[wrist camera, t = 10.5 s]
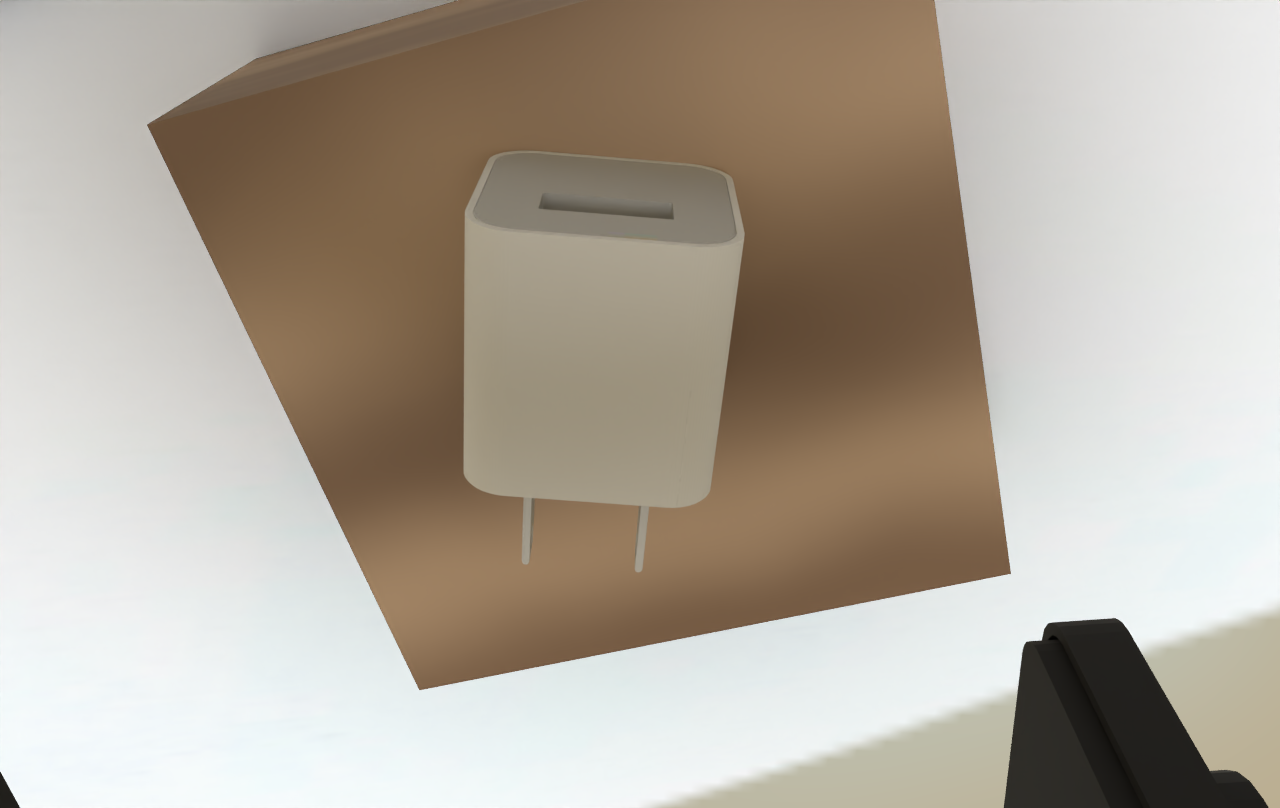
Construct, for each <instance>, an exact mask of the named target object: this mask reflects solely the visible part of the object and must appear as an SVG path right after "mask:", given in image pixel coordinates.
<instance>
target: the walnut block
mask: <svg viewBox="0 0 1280 808" xmlns="http://www.w3.org/2000/svg"><path fill="white" fill-rule="evenodd" d="M147 126H148V128H149V130H150V132H151V134H152V136H153V138H154V140H155V142H156V144H157V146H158V148H159V150H160V152H161V155H162V157H163V159H164V161H165V163H166V165H167V167H168V169H169V171H170V173H171V175H172V177H173V179H174V182H175V184H176V186H177V188H178V190H179V192H180V194H181V196H182V198H183V200H184V202H185V204H186V206H187V209H188V211H189V213H190V215H191V217H192V219H193V221H194V223H195V225H196V227H197V229H198V231H199V233H200V236H201V238H202V240H203V242H204V244H205V246H206V248H207V250H208V252H209V254H210V256H211V258H212V260H213V263H214V265H215V267H216V269H217V271H218V273H219V275H220V277H221V279H222V281H223V283H224V285H225V287H226V289H227V292H228V294H229V296H230V298H231V300H232V302H233V304H234V306H235V308H236V310H237V312H238V314H239V316H240V319H241V321H242V323H243V325H244V327H245V329H246V331H247V333H248V335H249V337H250V339H251V341H252V343H253V346H254V348H255V350H256V352H257V354H258V356H259V358H260V360H261V362H262V364H263V366H264V368H265V370H266V373H267V375H268V377H269V379H270V381H271V383H272V385H273V387H274V389H275V391H276V393H277V395H278V397H279V400H280V402H281V404H282V406H283V408H284V410H285V412H286V414H287V416H288V418H289V420H290V422H291V424H292V426H293V429H294V431H295V433H296V435H297V437H298V439H299V441H300V443H301V445H302V447H303V449H304V451H305V453H306V456H307V458H308V460H309V462H310V464H311V466H312V468H313V470H314V472H315V474H316V476H317V478H318V480H319V483H320V485H321V487H322V489H323V491H324V493H325V495H326V497H327V499H328V501H329V503H330V505H331V507H332V510H333V512H334V514H335V516H336V518H337V520H338V522H339V524H340V526H341V528H342V530H343V532H344V534H345V537H346V539H347V541H348V543H349V545H350V547H351V549H352V551H353V553H354V555H355V557H356V559H357V561H358V563H359V566H360V568H361V570H362V572H363V574H364V576H365V578H366V580H367V582H368V584H369V586H370V588H371V590H372V593H373V595H374V597H375V599H376V601H377V603H378V605H379V607H380V609H381V611H382V613H383V615H384V617H385V620H386V622H387V624H388V626H389V628H390V630H391V632H392V634H393V636H394V638H395V640H396V642H397V644H398V647H399V649H400V651H401V653H402V655H403V657H404V659H405V661H406V663H407V665H408V667H409V669H410V671H411V674H412V676H413V678H414V680H415V682H416V684H417V686H418V688H419V690H423V689H428V688H433V687H438V686H443V685H448V684H453V683H458V682H463V681H468V680H473V679H479V678H484V677H489V676H494V675H499V674H504V673H509V672H514V671H519V670H524V669H529V668H534V667H539V666H545V665H550V664H555V663H560V662H565V661H570V660H575V659H580V658H585V657H590V656H595V655H600V654H605V653H611V652H616V651H621V650H626V649H631V648H636V647H641V646H646V645H651V644H656V643H661V642H666V641H671V640H677V639H682V638H687V637H692V636H697V635H702V634H707V633H712V632H717V631H722V630H727V629H732V628H737V627H742V626H748V625H753V624H758V623H763V622H768V621H773V620H778V619H783V618H788V617H793V616H798V615H803V614H808V613H814V612H819V611H824V610H829V609H834V608H839V607H844V606H849V605H854V604H859V603H864V602H869V601H874V600H880V599H885V598H890V597H895V596H900V595H905V594H910V593H915V592H920V591H925V590H930V589H935V588H940V587H946V586H951V585H956V584H961V583H966V582H971V581H976V580H981V579H986V578H991V577H996V576H1001V575H1006V574H1011V572H1010V564H1009V557H1008V549H1007V542H1006V534H1005V527H1004V519H1003V512H1002V504H1001V497H1000V489H999V482H998V474H997V467H996V459H995V452H994V444H993V437H992V429H991V422H990V414H989V407H988V399H987V392H986V385H985V377H984V370H983V362H982V355H981V347H980V340H979V332H978V325H977V317H976V310H975V302H974V295H973V287H972V280H971V272H970V265H969V257H968V250H967V242H966V235H965V227H964V220H963V212H962V205H961V197H960V190H959V182H958V175H957V167H956V160H955V152H954V145H953V137H952V130H951V122H950V115H949V107H948V100H947V92H946V85H945V77H944V70H943V62H942V55H941V47H940V40H939V32H938V25H937V17H936V10H935V2H934V0H458V1H455V2H451V3H448V4H444V5H441V6H437V7H434V8H430V9H427V10H424V11H420V12H417V13H413V14H410V15H406V16H403V17H399V18H396V19H392V20H389V21H385V22H382V23H378V24H375V25H372V26H368V27H365V28H361V29H358V30H354V31H351V32H347V33H344V34H340V35H337V36H333V37H330V38H326V39H323V40H319V41H316V42H313V43H309V44H306V45H302V46H299V47H295V48H292V49H288V50H285V51H281V52H278V53H274V54H271V55H267V56H264V57H261V58H257V59H255V60H253V61H251V62H250V63H248V64H247V65H245V66H243V67H242V68H240V69H238V70H237V71H235V72H233V73H232V74H230V75H228V76H227V77H225V78H223V79H222V80H220V81H218V82H217V83H215V84H214V85H212V86H210V87H209V88H207V89H205V90H204V91H202V92H200V93H199V94H197V95H195V96H194V97H192V98H190V99H189V100H187V101H186V102H184V103H182V104H181V105H179V106H177V107H176V108H174V109H172V110H171V111H169V112H167V113H166V114H164V115H162V116H161V117H159V118H157V119H156V120H154V121H153V122H151V123H149V124H148V125H147ZM523 150H529V151H544V152H557V153H569V154H581V155H593V156H605V157H617V158H629V159H641V160H653V161H665V162H677V163H689V164H696V165H702V166H707V167H711V168H714V169H717V170H720V171H722V172H725V173H726V174H728V175H729V176H731V177H732V179H733V182H734V187H735V191H736V196H737V201H738V205H739V210H740V214H741V219H742V223H743V228H744V232H745V236H744V243H743V251H742V258H741V266H740V273H739V280H738V288H737V295H736V303H735V310H734V317H733V325H732V332H731V340H730V347H729V355H728V362H727V369H726V377H725V384H724V392H723V399H722V406H721V414H720V421H719V429H718V436H717V444H716V451H715V458H714V466H713V473H712V481H711V488H710V492H709V494H708V495H707V496H706V497H705V498H704V499H703V500H701V501H700V502H698V503H696V504H693V505H690V506H686V507H679V508H663V507H649V512H648V522H647V532H646V541H645V550H644V559H643V568H642V571H641V572H636V571H635V543H636V532H637V522H638V511H639V506H635V505H622V504H608V503H594V502H581V501H567V500H553V499H539V498H535V505H534V526H533V542H532V548H531V555H530V561H529V563H528V564H523V563H522V530H523V502H524V497H512V496H500V495H494V494H490V493H487V492H484V491H482V490H479V489H477V488H476V487H474V486H473V485H471V484H470V483H469V482H468V481H467V479H466V478H465V476H464V269H465V209H466V207H467V205H468V203H469V201H470V199H471V196H472V194H473V192H474V190H475V188H476V186H477V183H478V181H479V179H480V177H481V175H482V173H483V170H484V168H485V166H486V164H487V162H488V160H489V158H490V157H492V156H494V155H496V154H499V153H503V152H509V151H523Z"/></svg>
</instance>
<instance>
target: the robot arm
mask: <svg viewBox="0 0 1280 808" xmlns="http://www.w3.org/2000/svg"><path fill="white" fill-rule="evenodd" d="M0 808H20V807H19V805H18V803H17V801H16V800H15V798H14V796H13V794H12V792H11V790H10V789H9V787H8V785H7V783H6V781H5V779H4V778H3V776H2V774H1V772H0ZM1004 808H1268V806H1267V805H1266V803H1265V801H1264V799H1263V798H1262V797H1261V795H1260V794H1259V793H1258V791H1257V790H1256V789H1255V787H1254V786H1253V785H1252V783H1251V782H1250V781H1249V780H1247V779H1246V778H1245V777H1244V776H1242V775H1241V774H1240V773H1238V772H1236V771H1229V770H1218V771H1209V769H1208V767H1207V766H1206V764H1205V762H1204V760H1203V759H1202V757H1201V755H1200V753H1199V752H1198V750H1197V748H1196V747H1195V745H1194V743H1193V741H1192V740H1191V738H1190V736H1189V734H1188V733H1187V731H1186V729H1185V728H1184V726H1183V724H1182V722H1181V721H1180V719H1179V717H1178V716H1177V714H1176V712H1175V710H1174V709H1173V707H1172V705H1171V704H1170V702H1169V700H1168V698H1167V697H1166V695H1165V693H1164V691H1163V690H1162V688H1161V686H1160V685H1159V683H1158V681H1157V679H1156V678H1155V676H1154V674H1153V672H1152V671H1151V669H1150V667H1149V666H1148V664H1147V662H1146V660H1145V659H1144V657H1143V655H1142V653H1141V652H1140V650H1139V648H1138V647H1137V645H1136V643H1135V641H1134V640H1133V638H1132V636H1131V635H1130V633H1129V631H1128V630H1127V628H1126V627H1125V626H1124V624H1123V623H1122V622H1121V621H1119V620H1118V619H1116V618H1112V619H1098V620H1083V621H1069V622H1055V623H1048V624H1047V626H1046V628H1045V629H1044V633H1043V638H1042V641H1029V642H1026V644H1025V645H1024V648H1023V653H1022V661H1021V669H1020V677H1019V686H1018V694H1017V702H1016V711H1015V719H1014V727H1013V737H1012V744H1011V752H1010V761H1009V770H1008V777H1007V786H1006V795H1005V803H1004Z"/></svg>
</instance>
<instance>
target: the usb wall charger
mask: <svg viewBox="0 0 1280 808" xmlns="http://www.w3.org/2000/svg"><path fill="white" fill-rule="evenodd" d="M744 236H745V232H744V228H743V223H742V219H741V214H740V210H739V205H738V201H737V196H736V191H735V187H734V182H733V179H732V177H731V176H729V175H728V174H726V173H725V172H722V171H720V170H717V169H714V168H711V167H707V166H702V165H696V164H689V163H677V162H665V161H653V160H641V159H629V158H617V157H605V156H593V155H581V154H569V153H557V152H544V151H529V150H523V151H509V152H503V153H499V154H496V155H494V156H492V157H490V158H489V160H488V162H487V164H486V166H485V168H484V170H483V173H482V175H481V177H480V179H479V181H478V183H477V186H476V188H475V190H474V192H473V194H472V196H471V199H470V201H469V203H468V205H467V207H466V209H465V269H464V476H465V478H466V479H467V481H468V482H469V483H470V484H471V485H473V486H474V487H476V488H477V489H479V490H482V491H484V492H487V493H490V494H494V495H500V496H512V497H524V502H523V530H522V563H523V564H528V563H529V561H530V555H531V548H532V542H533V526H534V505H535V498H539V499H553V500H567V501H581V502H594V503H608V504H622V505H635V506H639V511H638V522H637V532H636V543H635V571H636V572H641V571H642V568H643V559H644V550H645V541H646V532H647V522H648V512H649V507H663V508H679V507H686V506H690V505H693V504H696V503H698V502H700V501H701V500H703V499H704V498H705V497H706V496H707V495H708V494H709V492H710V488H711V481H712V473H713V466H714V458H715V451H716V444H717V436H718V429H719V421H720V414H721V406H722V399H723V392H724V384H725V377H726V369H727V362H728V355H729V347H730V340H731V332H732V325H733V317H734V310H735V303H736V295H737V288H738V280H739V273H740V266H741V258H742V251H743V243H744Z"/></svg>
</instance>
